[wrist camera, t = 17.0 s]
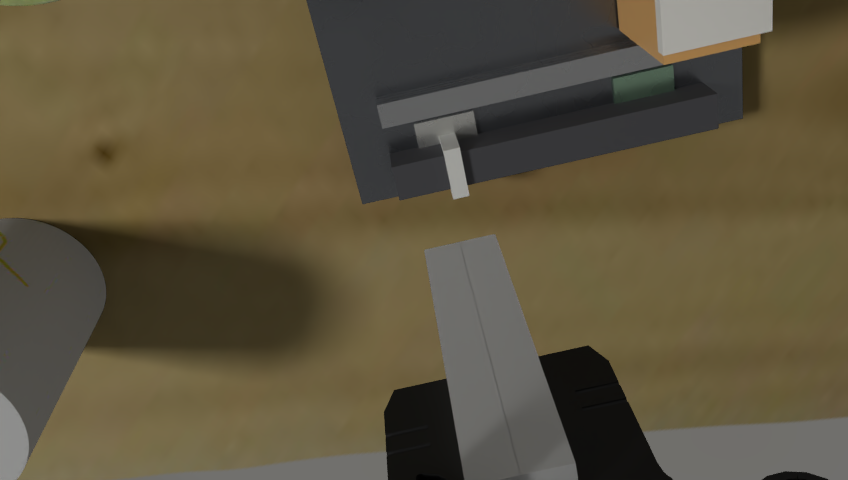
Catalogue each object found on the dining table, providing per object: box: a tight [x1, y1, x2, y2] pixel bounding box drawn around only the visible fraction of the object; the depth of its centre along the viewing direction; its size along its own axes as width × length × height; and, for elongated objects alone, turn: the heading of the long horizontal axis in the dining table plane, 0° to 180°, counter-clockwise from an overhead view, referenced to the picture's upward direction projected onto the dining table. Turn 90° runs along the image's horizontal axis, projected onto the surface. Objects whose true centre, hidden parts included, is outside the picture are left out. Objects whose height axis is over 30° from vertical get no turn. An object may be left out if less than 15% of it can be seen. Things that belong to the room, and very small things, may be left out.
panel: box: [307, 0, 743, 204], centre depth 37 cm, size 16×20×3 cm
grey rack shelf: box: [390, 83, 719, 200], centre depth 36 cm, size 16×16×2 cm
